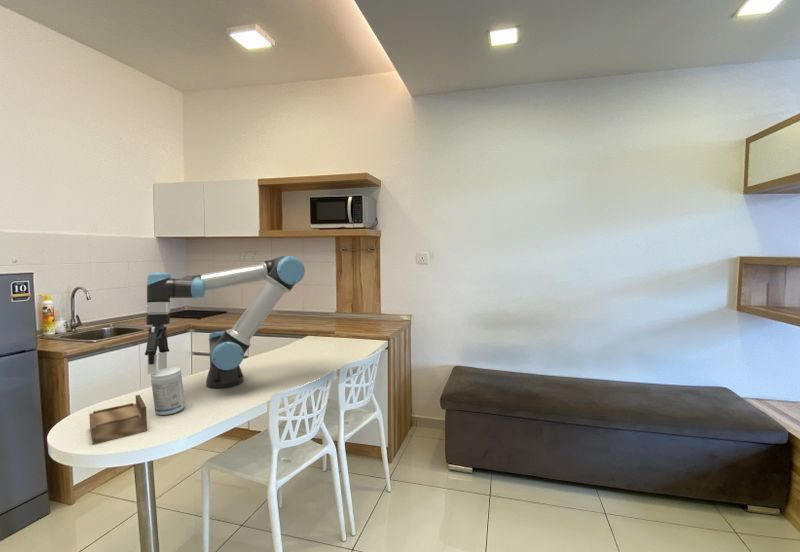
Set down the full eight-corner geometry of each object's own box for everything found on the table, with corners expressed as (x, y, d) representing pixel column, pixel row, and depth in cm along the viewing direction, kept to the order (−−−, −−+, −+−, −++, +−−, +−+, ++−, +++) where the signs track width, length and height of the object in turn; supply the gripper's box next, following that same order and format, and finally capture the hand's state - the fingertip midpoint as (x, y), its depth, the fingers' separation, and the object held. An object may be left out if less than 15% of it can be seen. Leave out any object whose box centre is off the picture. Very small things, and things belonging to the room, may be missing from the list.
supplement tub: (163, 405, 148) (159, 367, 147) (189, 403, 149) (185, 365, 148) (149, 417, 139) (144, 376, 137) (177, 414, 140) (173, 374, 138)
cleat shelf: (140, 416, 139) (139, 394, 138) (147, 430, 128) (146, 406, 128) (90, 428, 130) (88, 404, 129) (92, 444, 119) (91, 418, 119)
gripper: (156, 315, 159) (155, 368, 156) (135, 313, 135) (134, 376, 133) (177, 314, 161) (176, 367, 159) (160, 312, 137) (159, 374, 135)
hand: (157, 371), depth 146 cm, fingers open, 13 cm apart
